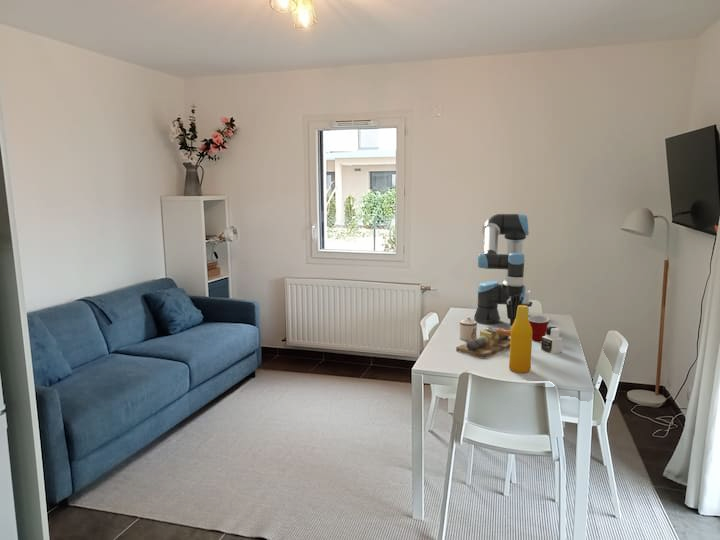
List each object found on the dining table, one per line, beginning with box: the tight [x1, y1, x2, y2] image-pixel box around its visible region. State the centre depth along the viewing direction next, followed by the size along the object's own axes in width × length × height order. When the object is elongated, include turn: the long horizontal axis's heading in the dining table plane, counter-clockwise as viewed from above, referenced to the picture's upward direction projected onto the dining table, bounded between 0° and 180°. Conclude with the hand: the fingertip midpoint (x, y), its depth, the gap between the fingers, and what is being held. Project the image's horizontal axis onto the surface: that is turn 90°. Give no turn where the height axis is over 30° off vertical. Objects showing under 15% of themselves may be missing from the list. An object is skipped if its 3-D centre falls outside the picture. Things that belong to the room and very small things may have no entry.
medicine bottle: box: [540, 326, 564, 355], centre depth 269 cm, size 7×7×12 cm
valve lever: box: [485, 326, 511, 338], centre depth 271 cm, size 14×3×2 cm, turn 44°
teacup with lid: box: [459, 316, 478, 342], centre depth 292 cm, size 12×9×12 cm
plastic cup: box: [528, 315, 550, 343], centre depth 287 cm, size 11×11×12 cm
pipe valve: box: [455, 328, 510, 359], centre depth 276 cm, size 32×16×9 cm, turn 134°
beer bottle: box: [508, 305, 533, 374], centre depth 242 cm, size 9×9×29 cm
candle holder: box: [522, 289, 533, 317], centre depth 338 cm, size 25×24×16 cm
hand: (513, 331), depth 272 cm, fingers closed
